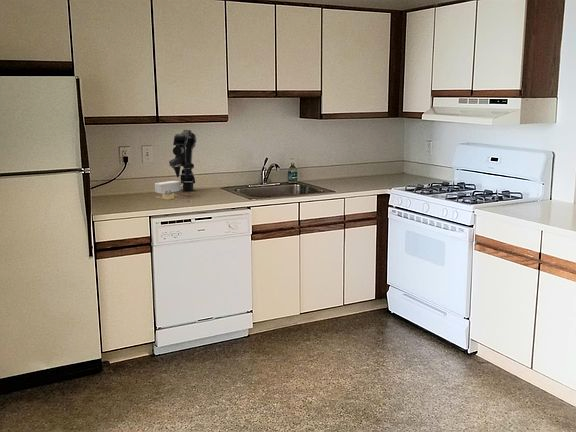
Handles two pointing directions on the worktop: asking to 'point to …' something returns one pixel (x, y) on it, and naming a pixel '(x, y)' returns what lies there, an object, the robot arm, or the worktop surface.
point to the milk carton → (168, 186)
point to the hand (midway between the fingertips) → (182, 178)
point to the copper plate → (178, 196)
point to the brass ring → (168, 196)
